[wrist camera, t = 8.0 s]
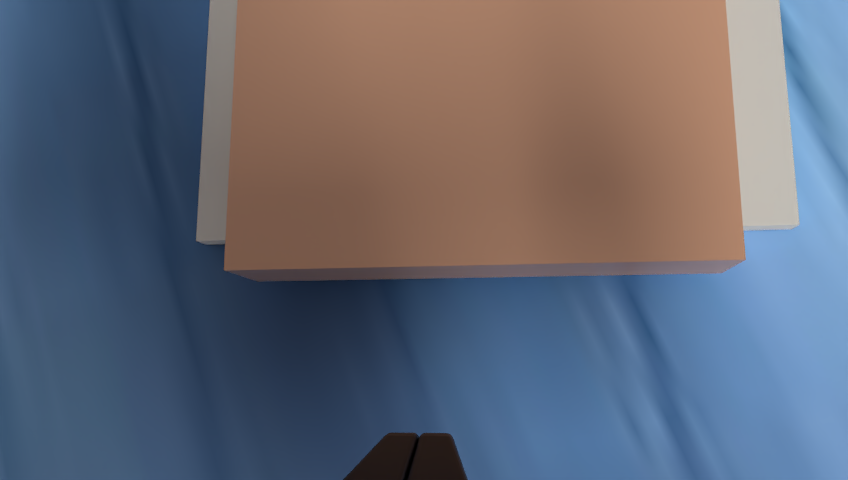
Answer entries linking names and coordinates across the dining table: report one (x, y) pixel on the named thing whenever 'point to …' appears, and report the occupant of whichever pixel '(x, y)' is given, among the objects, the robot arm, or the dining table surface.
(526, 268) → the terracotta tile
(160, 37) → the dining table surface
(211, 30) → the cream square plate
